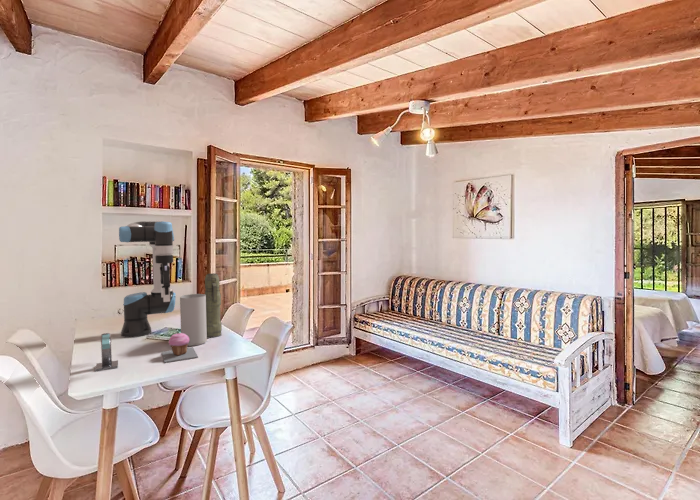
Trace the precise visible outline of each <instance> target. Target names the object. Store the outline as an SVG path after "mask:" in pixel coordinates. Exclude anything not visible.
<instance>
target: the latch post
mask: <svg viewBox="0 0 700 500" xmlns="http://www.w3.org/2000/svg"><path fill="white" fill-rule="evenodd" d="M100 346H101V347H100V349H101V350H100V351H101V352H100V353H101V362H99V363H96V364H95V367H94V368H95V369H94V371H95V372H101V371H107V370H113V369H118V367H119V360H118V359H117V360H112V359H113V357H112V356H113V355H112V339H111V337H110V348H108V349H102V338H101V340H100Z"/></svg>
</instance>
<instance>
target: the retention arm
mask: <svg viewBox="0 0 700 500" xmlns="http://www.w3.org/2000/svg"><path fill="white" fill-rule="evenodd" d="M110 338H111V333H110V332H105V333H102V334H101V339H102V349H108V348H110Z"/></svg>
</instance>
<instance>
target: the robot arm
mask: <svg viewBox="0 0 700 500" xmlns="http://www.w3.org/2000/svg"><path fill="white" fill-rule="evenodd" d="M118 240H119V242H120V243H148V244H149V246H150V247H151V248H152V274H153V275H152V278H153V289H152V290H151V291H150V294H148V293H147V292H145V291H144V292H143V291H142V292H135V293H131V294H128V295H126V296H124V297H123V305H122V306H123V319H124V320H123V325H122V328H121V331H120V333H121V334H120V336H121V337H123V338H137V337H143V336H147V335H149V333H150V334H151V333H152V327H151V325H150V324H151V323H149V320H148V315H157V314H168V313H172V312H174V310H175V306H176V296H177V295H176V292H174V289H172V288H171V281H170V279H171V278H170V277H171V276H170V272H171V271H170V270H171V269H170V264H173V262H174V255H173V254H174V244H173V242H175V236H174V229H173V223H172V222H170V221H136V222H132V223H129V224H127V225H125V226H119V227H118Z"/></svg>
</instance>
